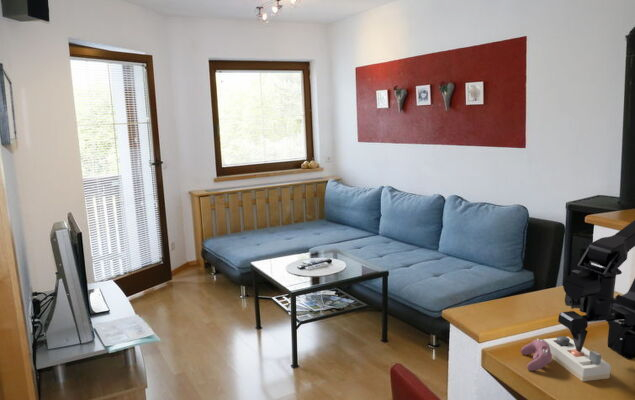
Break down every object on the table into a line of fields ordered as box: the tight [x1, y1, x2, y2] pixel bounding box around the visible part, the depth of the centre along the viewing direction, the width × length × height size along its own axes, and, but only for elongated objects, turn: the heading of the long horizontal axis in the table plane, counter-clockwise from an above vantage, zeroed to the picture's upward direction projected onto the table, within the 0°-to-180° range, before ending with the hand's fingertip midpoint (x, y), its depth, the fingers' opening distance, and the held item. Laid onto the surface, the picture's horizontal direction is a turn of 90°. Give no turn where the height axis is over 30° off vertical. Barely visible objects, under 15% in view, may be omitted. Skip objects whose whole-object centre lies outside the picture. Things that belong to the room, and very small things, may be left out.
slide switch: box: [589, 350, 602, 365], centre depth 124 cm, size 1×2×4 cm, turn 11°
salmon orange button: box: [571, 350, 584, 357], centre depth 129 cm, size 3×3×2 cm
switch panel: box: [542, 336, 612, 382], centre depth 130 cm, size 8×16×3 cm, turn 11°
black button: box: [556, 335, 570, 347], centre depth 134 cm, size 3×3×2 cm
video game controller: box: [520, 338, 553, 372], centre depth 130 cm, size 10×5×7 cm, turn 169°
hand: (594, 349), depth 130 cm, fingers open, 9 cm apart
